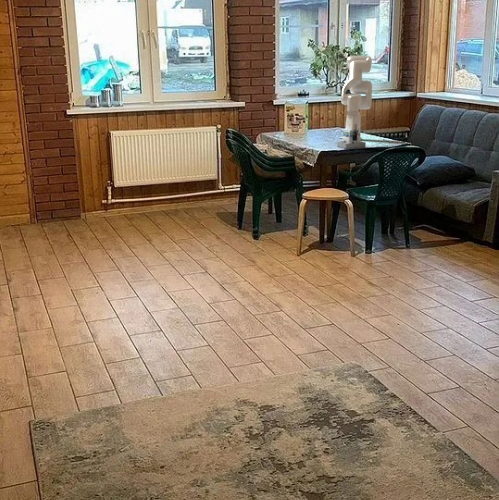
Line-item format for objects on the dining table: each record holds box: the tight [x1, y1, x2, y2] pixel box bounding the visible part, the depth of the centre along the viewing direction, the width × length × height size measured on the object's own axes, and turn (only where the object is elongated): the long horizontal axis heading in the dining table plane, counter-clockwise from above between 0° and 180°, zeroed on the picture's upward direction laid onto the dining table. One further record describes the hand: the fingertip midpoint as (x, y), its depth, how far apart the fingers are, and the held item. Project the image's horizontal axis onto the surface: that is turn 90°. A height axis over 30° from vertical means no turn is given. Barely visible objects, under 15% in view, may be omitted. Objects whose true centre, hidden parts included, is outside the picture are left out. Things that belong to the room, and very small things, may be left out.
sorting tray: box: [337, 140, 367, 150], centre depth 494 cm, size 12×16×4 cm
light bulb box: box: [342, 128, 362, 144], centre depth 492 cm, size 11×7×11 cm, turn 125°
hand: (351, 139), depth 493 cm, fingers closed on light bulb box, 7 cm apart
